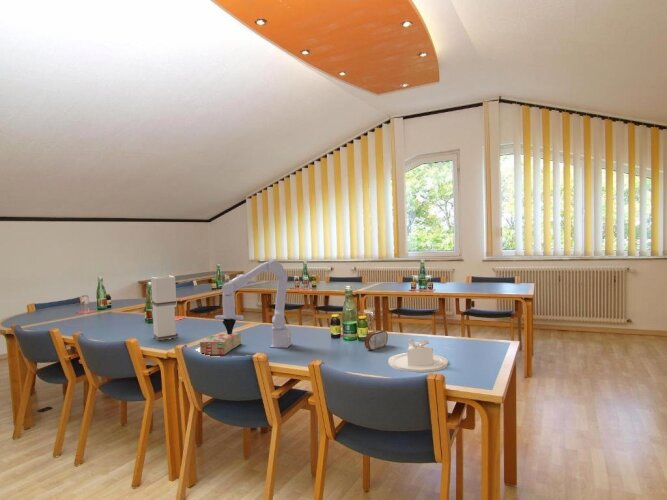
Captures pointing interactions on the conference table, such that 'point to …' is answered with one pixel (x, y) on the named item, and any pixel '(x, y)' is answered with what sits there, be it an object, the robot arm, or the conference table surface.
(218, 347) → the printed cardboard box
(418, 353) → the dish
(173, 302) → the white mini fridge
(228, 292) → the robot arm
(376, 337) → the slice of bread
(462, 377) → the conference table surface
